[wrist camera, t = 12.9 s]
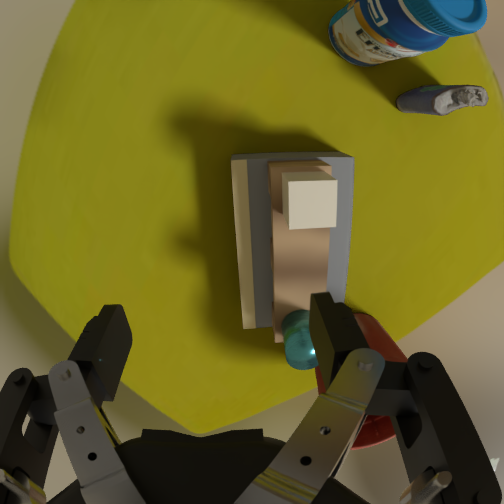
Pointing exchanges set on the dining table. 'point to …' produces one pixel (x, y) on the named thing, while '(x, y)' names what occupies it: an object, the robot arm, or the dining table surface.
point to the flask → (441, 99)
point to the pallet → (294, 249)
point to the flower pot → (380, 341)
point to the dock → (260, 229)
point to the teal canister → (298, 340)
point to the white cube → (309, 199)
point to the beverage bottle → (400, 27)
